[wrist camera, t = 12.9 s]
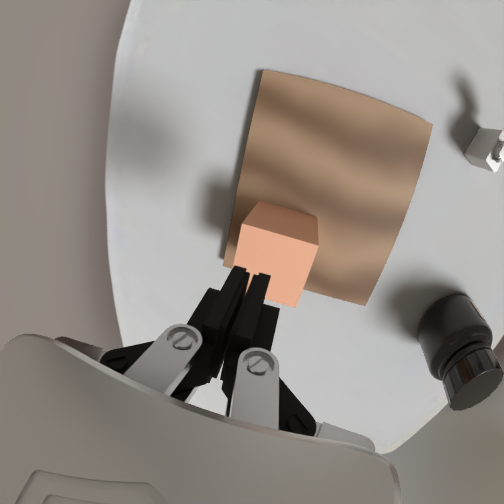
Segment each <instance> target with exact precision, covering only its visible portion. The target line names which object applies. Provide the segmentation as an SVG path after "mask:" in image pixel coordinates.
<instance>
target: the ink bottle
mask: <svg viewBox="0 0 504 504" xmlns="http://www.w3.org/2000/svg"><path fill="white" fill-rule="evenodd" d="M418 338H419V342H420V344H421V347H422V350H423V353H424V356H425V359H426V362H427V365H428V368H429V371H430V373H431V375H432V376H433V377H434V378H436V379H438V380H441V381H443V385H444V389H445V392H446V396H447V399H448V403H449V406H450V408H452V409H453V410H454V411H455V410H464V409H467V408H471V407H473V406H474V405H476V404H478V403H480V402H481V401H483V400H484V399H486V398H487V397H488V396H490V394H491V393H492V392H493V391H494V390H495V389H496V388H497V387H498V385H499V384H500V382H501V381H502V378H503V374H504V373H503V371H502V368H501V366H500V364H499V362H498V361H497V358H496V356H495V355H494V353H493V350H492V349H491V344H492V331H491V329H490V327H489V325H488V324H487V322H486V320H485V319H484V317H483V316H482V314H481V313H480V311H479V310H478V308H477V307H476V305H475V304H474V303H473V301H472V300H471V299H470V298H469V297H467V296H464V295H452V296H448V297H445V298H443V299H441V300H439V301H438V302H436V303H435V304H434V305H433V306H432V307H431V308H430V309H429V310H428V311H427V312H426V314H425V315H424V317H423V319H422V321H421V323H420V326H419V330H418Z"/></svg>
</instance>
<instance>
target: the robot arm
mask: <svg viewBox="0 0 504 504" xmlns="http://www.w3.org/2000/svg"><path fill="white" fill-rule="evenodd" d="M246 270H247V269H246V268H243V267H240V266H236V265H234V267H233V269H232V270H231V272H230V274H229V276H228V278H227V280H226V281H225V283H224V285H223V287H222V289H221V291H219V290H216V289H212V288H209V289H208V290H207V292H206V293H205V295H204V296H203V298H202V300H201V301H200V303H199V305H198V306H197V308H196V310H195V311H194V313H193V315H192V316H191V318H190V320H189V321H188V323H187V324H176V325H173V326H170V327H169V328H167V329H166V330H165V331H164V332H163V333H162V334H161V335H160V336H159V337H158V339H157V340H156V341H152V342H147V343H143V344H138V345H133V346H128V347H123V348H119V349H114V350H111V351H108V352H106V351H104V349H103V348H100V347H97V346H94V345H90V344H87V343H83V342H80V341H77V340H74V339H71V338H68V337H63V336H62V337H58V338H56V339H52V338H50V337H46V336H42V335H37V334H22V335H19V336H17V337H15V338H13V339H12V340H10V341H9V342H8V343H7V344H6V345H4V346H3V347H2V348H1V349H0V504H401V489H400V481H399V476H398V473H397V470H396V468H395V466H394V465H393V464H392V462H391V461H389V460H388V459H387V458H385V457H384V456H382V455H380V454H378V453H377V452H375V446H374V443H373V442H372V441H371V440H370V439H369V438H367V437H365V436H363V435H359V434H356V433H353V432H350V431H347V430H344V429H342V428H339V427H336V426H333V425H330V424H328V423H325V422H323V423H322V424H321V423H318V422H316V421H315V420H314V418H313V417H312V415H311V414H310V413H309V412H308V411H307V409H306V408H305V407H304V406H303V405H302V404H301V402H300V401H299V400H298V399H297V398H296V397H295V395H294V394H293V393H292V392H291V391H290V389H289V388H288V387H287V386H286V385H285V383H284V382H283V381H282V380H281V379H280V377H279V363H278V360H277V358H276V357H275V356H274V355H273V354H272V353H271V352H270V351H271V347H272V342H273V338H274V333H275V329H276V324H277V320H278V315H279V310H280V308H276V307H273V306H269V305H266V304H263V302H264V299H265V295H266V292H267V289H268V285H269V282H270V278H271V275H267V274H264V273H260V272H259V275H256V274H254V275H253V277H252V280H251V282H250V285H249V287H248V290H247V286H248V281H249V277H250V273H249V272H246ZM246 290H247V292H246ZM245 294H246V295H245ZM223 361H224V363H223ZM222 363H223V368H222V373H221V378H220V380H223V384H222V391H223V392H224V394H225V395H226V397H227V398H228V399H227V404H226V410H225V416H223V415H220V414H217V413H214V412H211V411H208V410H205V409H202V408H199V407H196V406H194V405H191V404H188V402H189V401H190V399H191V398H192V396H193V395H194V394H195V392H196V390H197V388H198V386H201V385H204V384H206V383H210V380H211V378H212V377H213V378H217V376H218V373H219V371H220V368H221V366H222Z"/></svg>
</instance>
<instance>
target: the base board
mask: <svg viewBox="0 0 504 504" xmlns="http://www.w3.org/2000/svg"><path fill="white" fill-rule="evenodd" d="M432 126H433V124H431V123H429V122H427V121H425V120H423V119H421V118H419V117H417V116H414V115H412V114H410V113H408V112H406V111H403V110H401V109H399V108H396V107H394V106H391V105H389V104H386V103H384V102H381V101H379V100H376V99H373V98H371V97H368V96H365V95H362V94H359V93H356V92H353V91H350V90H347V89H344V88H341V87H337V86H334V85H330V84H327V83H323V82H319V81H315V80H311V79H307V78H303V77H299V76H294V75H289V74H285V73H279V72H274V71H268V70H263V73H262V78H261V82H260V86H259V91H258V95H257V99H256V104H255V108H254V113H253V117H252V122H251V126H250V131H249V135H248V140H247V145H246V149H245V154H244V159H243V164H242V169H241V174H240V178H239V183H238V188H237V193H236V198H235V204H234V209H233V214H232V219H231V224H230V230H229V235H228V240H227V246H226V251H225V257H224V262H223V266H225V267H228V268H233V263H234V259H235V254H236V249H237V244H238V240H239V235H240V230H241V226H242V223H243V222H244V220H245V219H246V217H247V216H248V215H249V213H250V212H251V211H252V209H253V208H254V207H255V205H256V204H257V203H258V201H262V202H266V203H269V204H273V205H277V206H280V207H284V208H287V209H291V210H294V211H297V212H301V213H304V214H308V215H311V216H314V217H317V219H318V238H319V247H318V250H317V253H316V255H315V258H314V261H313V264H312V266H311V269H310V272H309V275H308V277H307V280H306V283H305V285H304V288H303V289H304V290H308V291H312V292H315V293H319V294H322V295H326V296H330V297H333V298H337V299H341V300H344V301H348V302H352V303H356V304H359V305H363V306H365V305H366V303H367V301H368V299H369V297H370V295H371V293H372V291H373V289H374V287H375V285H376V283H377V281H378V279H379V277H380V275H381V273H382V270H383V268H384V266H385V264H386V262H387V259H388V257H389V255H390V253H391V250H392V248H393V246H394V243H395V241H396V238H397V236H398V233H399V231H400V228H401V226H402V223H403V221H404V218H405V215H406V213H407V210H408V207H409V204H410V202H411V199H412V196H413V193H414V190H415V187H416V184H417V181H418V178H419V174H420V171H421V168H422V164H423V161H424V157H425V154H426V150H427V146H428V143H429V139H430V135H431V130H432Z"/></svg>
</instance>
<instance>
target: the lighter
mask: <svg viewBox="0 0 504 504" xmlns="http://www.w3.org/2000/svg"><path fill="white" fill-rule="evenodd" d="M464 156H465V157H466V158H467V159H468V161H469V162H470V163H471V164H472V165H474V166H477V167H480V168H483V169H486V170H489V171H492V172H496V171H497V169H498V168H499V166H500V164H501V162H504V130H495V129H484V128H479V130H478V132H477V133H476V135H475V137H474V138H473V140H472V142H471V143H470V145H469V147H468V148H467V150H466V151H465V153H464Z"/></svg>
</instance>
